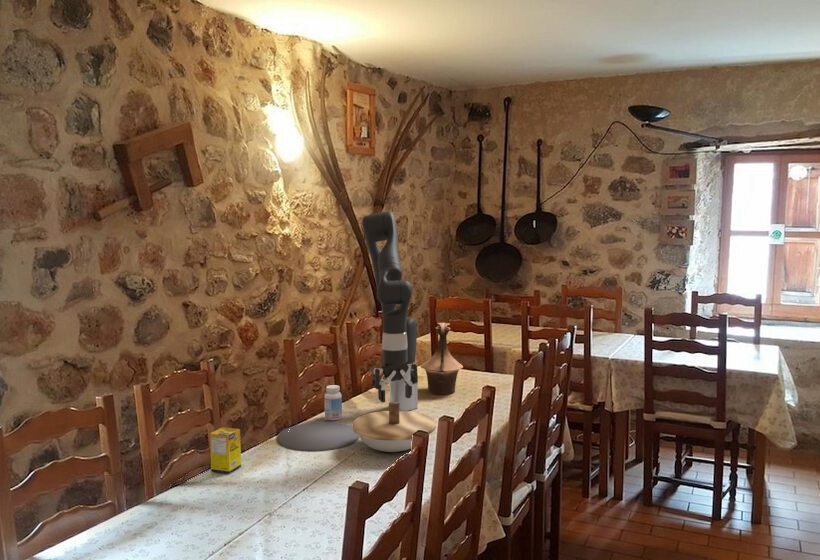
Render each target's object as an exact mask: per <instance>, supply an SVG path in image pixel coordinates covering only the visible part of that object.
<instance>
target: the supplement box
mask: <svg viewBox="0 0 820 560" xmlns="http://www.w3.org/2000/svg"><path fill="white" fill-rule="evenodd" d="M209 446H210V447H209V449H210V470H211V471H213V473H221V474H227V475H230V474H231V473H234V472H235V471H237V470H238V469H240V468H242V452H241V450H242V448H241V428H240V429H239V428H232V427H231V428H230V427H224V426H223V427H219V428H217V429H216V430H214V431H212V432H210V433H209ZM211 471H210V472H211Z"/></svg>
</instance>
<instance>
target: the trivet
mask: <svg viewBox="0 0 820 560" xmlns="http://www.w3.org/2000/svg"><path fill="white" fill-rule="evenodd" d="M289 429H290V430H289ZM288 431H289V432H288ZM277 436H278V437H276V439H277V443H278V444H279V443H280V445H281V446H282V447H285V448H288V449H291V450H295V451H302V452H303V451H304V452H322V451H323V452H324V451H331V450H332V451H333V450H338V449H342V448H345V447H347V446H350V445H353V444H354V443H356V442H357V441H359V439H360V437H359V436H358V435H357V434H355V433H354V432H353V425H349V424H346V423H341V422H333V421H332V422H330V421H328V422H327V421H324V422H322V421H318V422H315V421H314V422H308V423H307V422H306V423H301V424H297V425H293V426H290V427H288V428H285V429H283V430H281V431H280V432H279V433H278V434H277Z"/></svg>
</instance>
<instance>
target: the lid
mask: <svg viewBox="0 0 820 560" xmlns="http://www.w3.org/2000/svg"><path fill="white" fill-rule="evenodd" d="M352 427H353V430H354V431H355V432H356V433H357V434H359V435H361V436H364V437H367V438H371V439H377V440H389V441H397V440H410V439H412V435H413V433H414V432H415V431H417V430H424V431H427V432H429V435H430V434H432V433H434V432H435V431H436V421H435V419H433V418H432V417H431V416H429V415H427V414H424V413H420V412H416V411H410V410H409V411H399V403H398V402H390V401H389V402H388V410H382V411H376V412H375V411H374V412H370V413H367V414H363V415H360V416H358V417H357V418H356V419H354V420H353V422H352Z"/></svg>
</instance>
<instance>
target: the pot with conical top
mask: <svg viewBox="0 0 820 560" xmlns="http://www.w3.org/2000/svg"><path fill="white" fill-rule="evenodd" d="M437 325H438V326H436V327H435V330H436V333H437V334H438V336H439V337H438V345H437V349H436V351H435V353H434V354H433V355H432V356H431V357H430V358H429V359H428V360H426V361H425V362H423V363H421V365H420V368H422V369H423V370H424V371H425V373H426V380H427V392H428V393H430V394H433V395H434V394H435V395H451V394H454V393H455V392H456V383H457V378H458V374H459V371H460V370H461V369H463V368H464V366H463V365H462V364H461V363H460V362H458V360H457V359H455V358H454V357H453V356H452V354H451V352H450V351H449V347H448V341H447V340H448V339H447V336H448V334H449V332H450V330H451V327H449V326H450V325H451V323H450V322H437Z"/></svg>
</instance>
